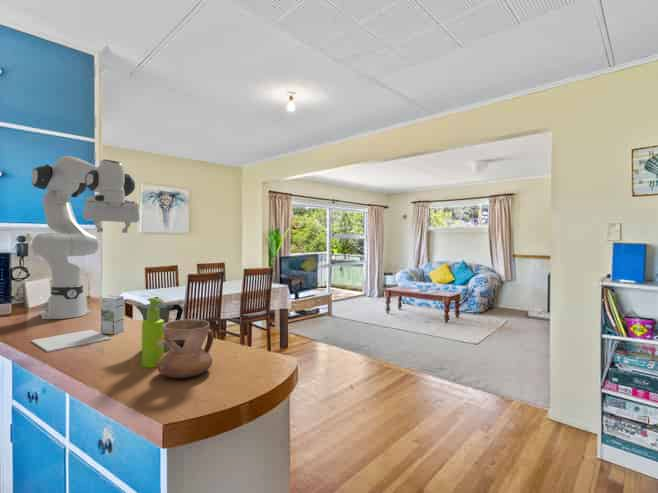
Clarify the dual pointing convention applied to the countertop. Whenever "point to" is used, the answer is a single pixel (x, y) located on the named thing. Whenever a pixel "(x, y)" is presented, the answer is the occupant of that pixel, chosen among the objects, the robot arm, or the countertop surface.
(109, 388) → the countertop surface
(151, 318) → the soap dispenser
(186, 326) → the ceramic jug
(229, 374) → the countertop surface
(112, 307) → the syrup box
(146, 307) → the coffeepot
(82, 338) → the grey mat
